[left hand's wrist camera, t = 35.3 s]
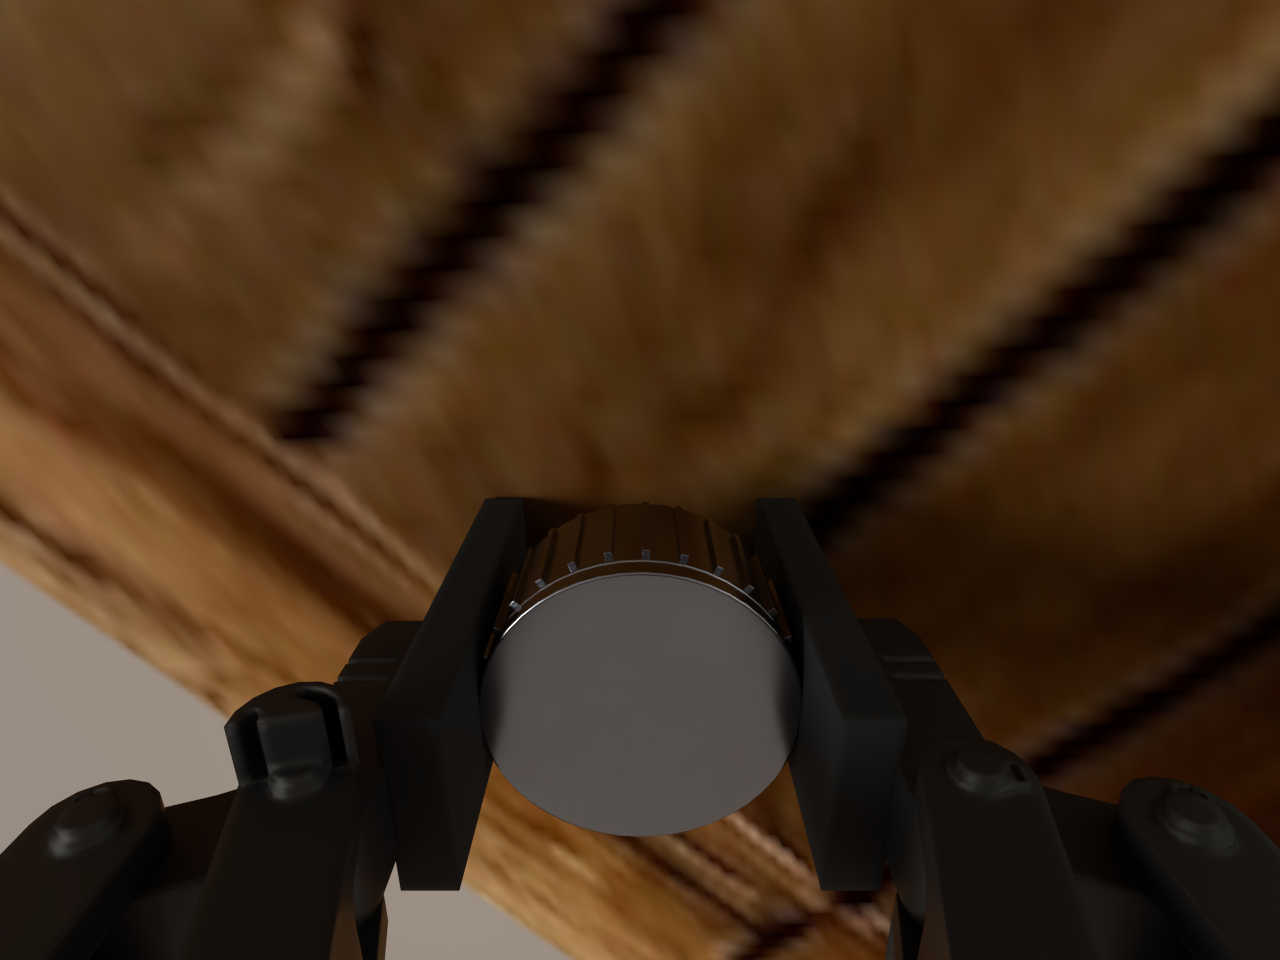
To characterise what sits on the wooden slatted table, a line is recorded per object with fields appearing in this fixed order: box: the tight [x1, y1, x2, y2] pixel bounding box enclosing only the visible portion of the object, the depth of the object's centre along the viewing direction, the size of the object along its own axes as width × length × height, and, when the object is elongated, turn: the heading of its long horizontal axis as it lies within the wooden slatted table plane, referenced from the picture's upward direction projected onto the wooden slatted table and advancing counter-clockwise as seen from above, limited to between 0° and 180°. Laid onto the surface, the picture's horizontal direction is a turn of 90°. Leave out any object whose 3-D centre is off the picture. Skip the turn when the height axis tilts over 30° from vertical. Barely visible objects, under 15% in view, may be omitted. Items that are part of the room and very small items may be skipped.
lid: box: [478, 502, 802, 837], centre depth 12 cm, size 5×5×2 cm
